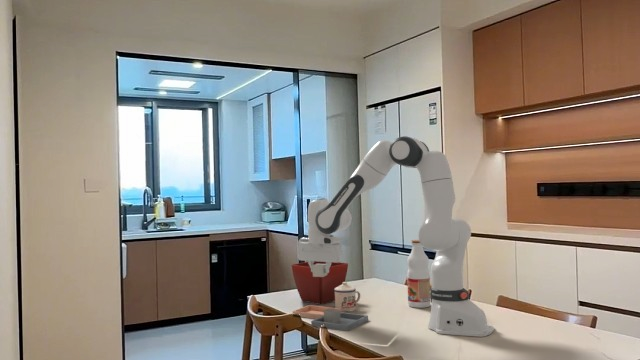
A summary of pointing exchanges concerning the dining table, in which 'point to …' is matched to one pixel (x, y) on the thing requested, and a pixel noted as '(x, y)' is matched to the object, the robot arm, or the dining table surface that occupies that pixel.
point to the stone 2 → (332, 315)
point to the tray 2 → (342, 321)
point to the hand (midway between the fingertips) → (320, 272)
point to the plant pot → (318, 282)
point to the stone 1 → (319, 270)
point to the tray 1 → (312, 311)
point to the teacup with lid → (346, 297)
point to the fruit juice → (418, 277)
